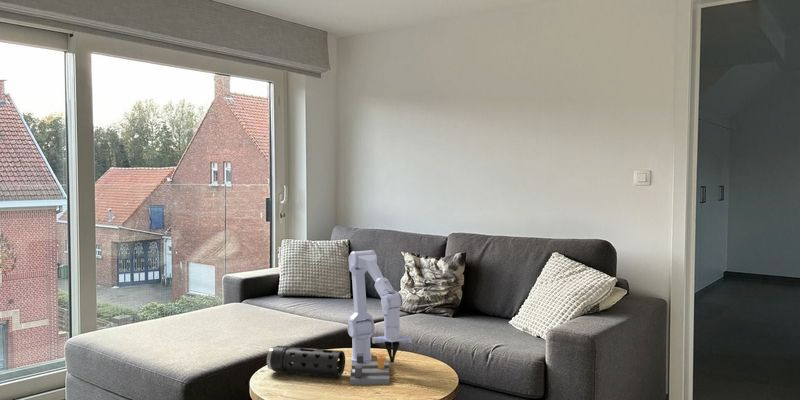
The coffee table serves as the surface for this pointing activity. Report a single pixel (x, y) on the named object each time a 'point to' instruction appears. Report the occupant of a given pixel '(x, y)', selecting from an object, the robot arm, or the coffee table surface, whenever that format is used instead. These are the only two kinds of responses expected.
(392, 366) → the coffee table surface
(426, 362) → the coffee table surface
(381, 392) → the coffee table surface
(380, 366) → the handle
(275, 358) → the muzzle brake
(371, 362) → the box
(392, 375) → the coffee table surface
